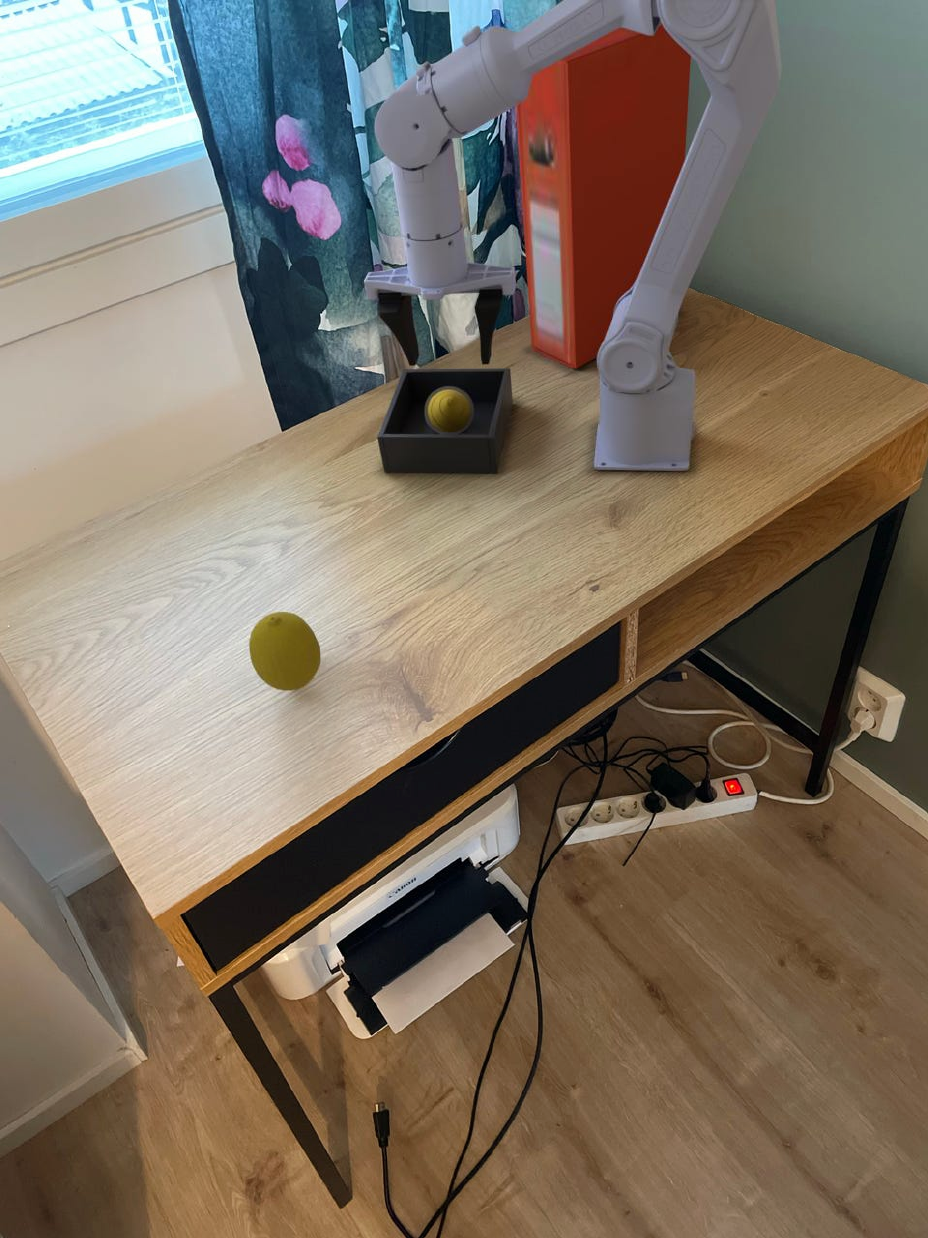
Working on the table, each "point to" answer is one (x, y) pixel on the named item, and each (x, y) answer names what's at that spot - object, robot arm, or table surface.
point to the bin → (425, 451)
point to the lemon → (284, 651)
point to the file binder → (597, 180)
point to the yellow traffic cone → (449, 411)
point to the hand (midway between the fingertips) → (450, 360)
